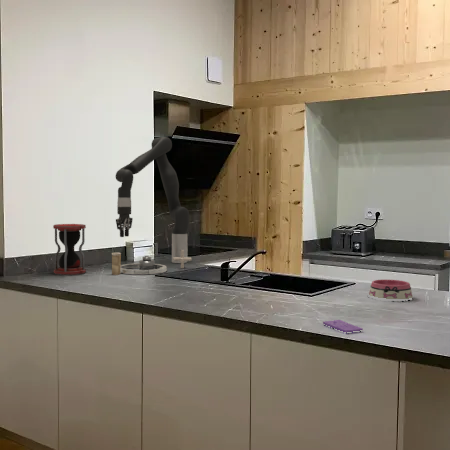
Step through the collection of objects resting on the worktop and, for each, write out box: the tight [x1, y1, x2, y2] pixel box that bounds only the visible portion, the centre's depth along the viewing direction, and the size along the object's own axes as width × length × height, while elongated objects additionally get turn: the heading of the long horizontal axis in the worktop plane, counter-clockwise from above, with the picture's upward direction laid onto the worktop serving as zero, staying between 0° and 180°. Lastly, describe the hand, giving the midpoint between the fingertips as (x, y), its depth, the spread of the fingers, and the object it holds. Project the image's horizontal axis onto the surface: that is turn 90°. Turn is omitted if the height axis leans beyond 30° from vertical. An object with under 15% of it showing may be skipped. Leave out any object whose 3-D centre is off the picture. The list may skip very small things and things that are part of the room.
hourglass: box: [52, 223, 87, 276], centre depth 296 cm, size 16×16×25 cm
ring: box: [120, 255, 168, 275], centre depth 306 cm, size 26×30×8 cm
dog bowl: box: [368, 279, 414, 299], centre depth 242 cm, size 18×19×7 cm
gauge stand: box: [111, 252, 122, 276], centre depth 293 cm, size 4×4×11 cm
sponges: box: [322, 319, 364, 333], centre depth 188 cm, size 7×13×2 cm, turn 26°
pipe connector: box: [173, 250, 192, 269], centre depth 318 cm, size 10×10×10 cm
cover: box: [138, 255, 155, 270], centre depth 310 cm, size 8×8×8 cm
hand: (124, 236), depth 317 cm, fingers open, 4 cm apart
